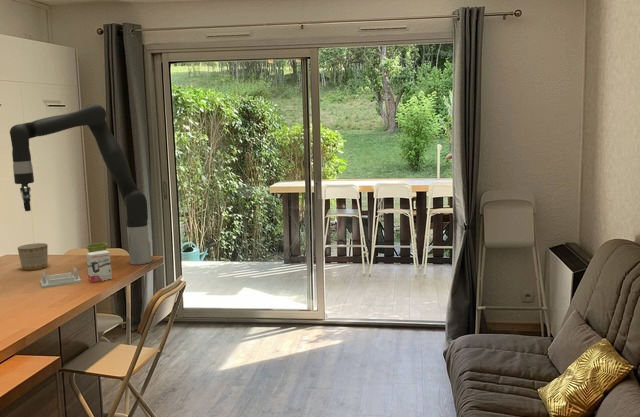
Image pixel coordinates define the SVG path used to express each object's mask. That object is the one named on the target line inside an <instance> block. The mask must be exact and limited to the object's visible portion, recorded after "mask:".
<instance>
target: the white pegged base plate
mask: <svg viewBox="0 0 640 417" xmlns="http://www.w3.org/2000/svg"><path fill="white" fill-rule="evenodd" d="M72 270H73V271H72V272H66V273H65V272H63V273H58V274H48V275H46V272H45V271H41V279H40V280H39V281H40V286H41V289H46V288H52V287H57V286H60V287H61V286H66V285H67V286H68V285H72V284H80V283H82V279H81V277H80V276H79V274H78V269H77V267H76V266H74V267H72Z"/></svg>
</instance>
